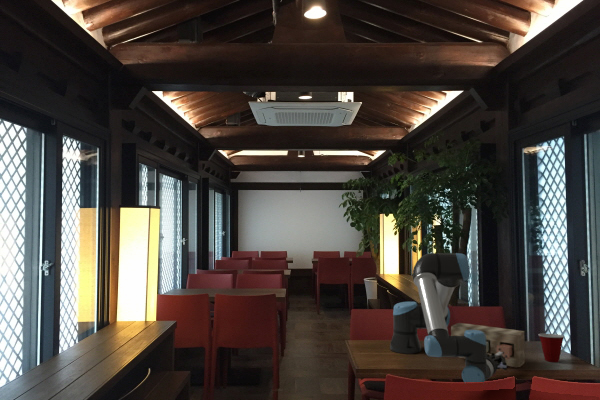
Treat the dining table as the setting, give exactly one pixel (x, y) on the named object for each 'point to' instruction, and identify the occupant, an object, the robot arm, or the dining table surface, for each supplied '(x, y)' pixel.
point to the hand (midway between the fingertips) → (501, 355)
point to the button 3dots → (505, 350)
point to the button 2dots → (487, 346)
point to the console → (497, 340)
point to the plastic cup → (551, 346)
